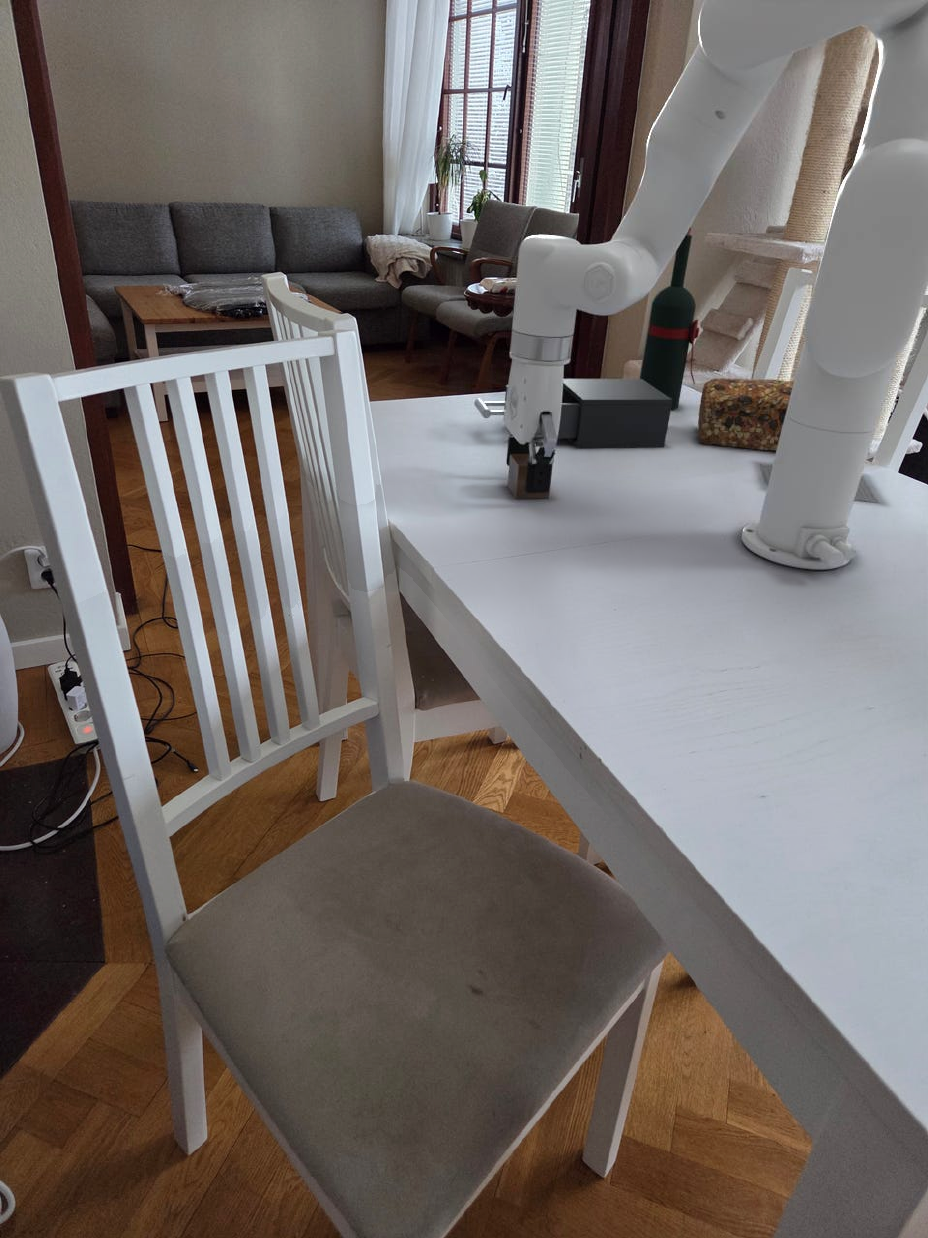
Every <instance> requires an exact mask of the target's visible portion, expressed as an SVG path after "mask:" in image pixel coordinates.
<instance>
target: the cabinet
mask: <svg viewBox="0 0 928 1238" xmlns="http://www.w3.org/2000/svg"><path fill="white" fill-rule="evenodd" d="M563 388H564V389H565V390H566V391H567V392H568V393H570V394H571V395H572V396H573V397H574V398H575V399H576V400H578V401H579V402H580V403H581V406H580V414H579V422H578V430H577V438H567V440H568V441H569V442H570V443H571V444H572V445H573V446H574V447H575V448H576V449H615V448H616V449H624V448H626V449H627V448H628V449H629V448H631V449H632V448H665V446H666V445H665V444H666V439H667V433H668V428H669V421H670V416H671V411H672V410H671V406H672V405H671V404H672V399H671V398H669V397H668V396H666V395H665V394H663V393H662V392H660V391H659V390H657V389H656V388H654V387H653V386H651V385H650V384H648V383H647V382H645V381H644V380H642V379H639V378H563Z"/></svg>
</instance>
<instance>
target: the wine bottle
mask: <svg viewBox="0 0 928 1238" xmlns="http://www.w3.org/2000/svg"><path fill="white" fill-rule="evenodd" d="M692 230H693V226H690V228H689V230H688V232H687V233H686V235H685V237H684V239H683V240H682V242H681V244H680V245H679V247H678V248H677V250H676V252H675V253H674V260H673V266H672V274H671V279H670V285H669V286H666V287H664V288H662V289H661V290H660V291H658V292H657V293H656V294H655V295H654V297H653V298H652V300H651V304H650V309H649V317H648V322H647V329H646V335H645V341H644V347H643V351H642V352H643V353H642V358H641V364H640V371H639V377H638V379H642V380H644V381H645V382H647V383H648V384H650V385H651V386H653V387H654V388H656V389H657V390H659V391H660V392H662V393H663V394H665V395H666V396H668V397H669V398H671V399H672V404H671V405H672V406H671V411H675V410H677V409H679V404H680V398H681V393H682V388H683V382H684V375H685V370H686V365H687V359H688V353H689V347H690V345H691V359H690V376H691V379H692V383H693V385H694V386H693V387H695V386H696V385H695V384H696V381H695V379H694V374H693V359H694V345H695V344H694V343H695V339H698V338H699V333H700V327H698V325H699V319H698V318H697V319H695V320H694V318H695V313H696V307H697V305H696V301H695V298H694V296H693V294H692V293H691V292H690V291H689V290H688V289H687V288H686V287H684V285H685V278H686V272H687V268H688V261H689V255H690V250H691V245H692V239H693V235H692V234H691V232H692Z"/></svg>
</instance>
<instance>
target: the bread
mask: <svg viewBox="0 0 928 1238" xmlns="http://www.w3.org/2000/svg"><path fill="white" fill-rule="evenodd" d="M793 384H794V380H783V379H781V380H777V379H770V378H769V379H768V378H767V379H761V378H759V379H747V378H730V377H729V378H721V377H718V378H717V377H716V378H712V379H709V380H707V381H706V382H705V383H704V384H703V388H702V392H701V396H700V403H699V408H698V415H697V416H698V420H697V428H698V438H699V442H700V443H702V444H704V445H712V444H713V445H714V444H715V445H718V446H721V447H731V448H742V449H743V448H745V449H750V450H751V449H752V450H753V449H754V450H765V451H777V447H778V443H779V439H780V435H781V431H782V427H783V423H784V419H785V415H786V412H787V408H788V404H789V400H790V396H791V392H792V388H793Z"/></svg>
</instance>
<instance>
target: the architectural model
mask: <svg viewBox="0 0 928 1238" xmlns="http://www.w3.org/2000/svg"><path fill="white" fill-rule="evenodd" d="M759 466H760V469H761V472H762V476H763V479H764V483H765V485H766V488H767V487H768V483H769V479H770V475H771V471H772V467H773V464H772V465H771V464H764V463H763V464H762V463H759ZM854 501H861V502H870V503H878V504H880V501H879V499H878V498H877V496H876V494H875V493H874V491H873V490H872V488H871V486H870V485H869V483H868V481H867V480H866V479H865V476H864V475H862V476H861V479H860V482H859V486H858V489H857V492H856V495H855V499H854Z"/></svg>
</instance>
